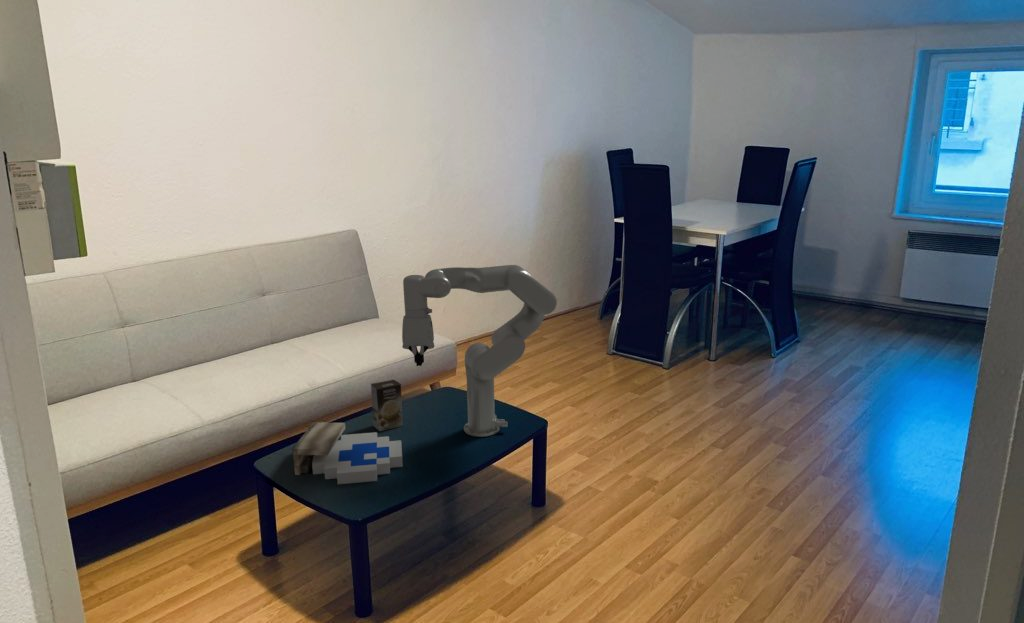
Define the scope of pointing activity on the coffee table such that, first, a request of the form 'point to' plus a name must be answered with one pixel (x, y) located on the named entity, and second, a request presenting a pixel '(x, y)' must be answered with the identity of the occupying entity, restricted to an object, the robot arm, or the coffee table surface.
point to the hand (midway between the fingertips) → (419, 364)
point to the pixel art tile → (359, 458)
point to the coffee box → (386, 405)
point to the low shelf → (315, 444)
